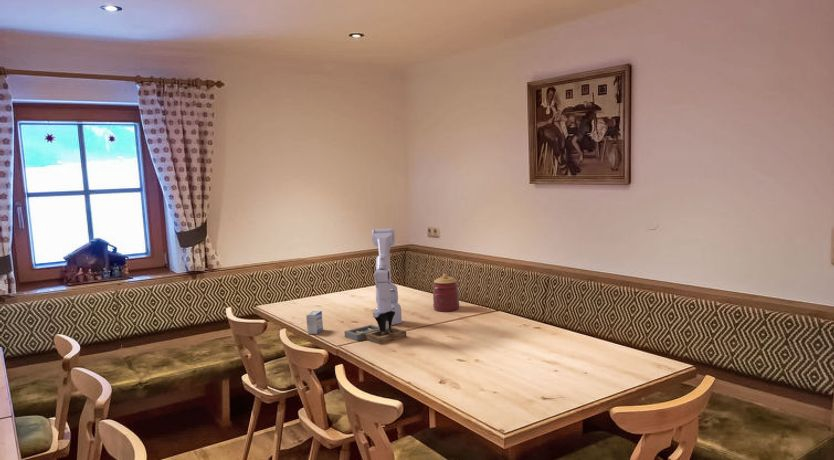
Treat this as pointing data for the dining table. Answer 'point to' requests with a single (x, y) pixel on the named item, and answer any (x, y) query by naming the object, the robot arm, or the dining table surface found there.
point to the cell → (386, 329)
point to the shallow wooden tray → (380, 339)
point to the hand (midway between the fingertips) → (385, 330)
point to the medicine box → (314, 322)
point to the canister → (445, 294)
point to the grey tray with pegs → (360, 332)
